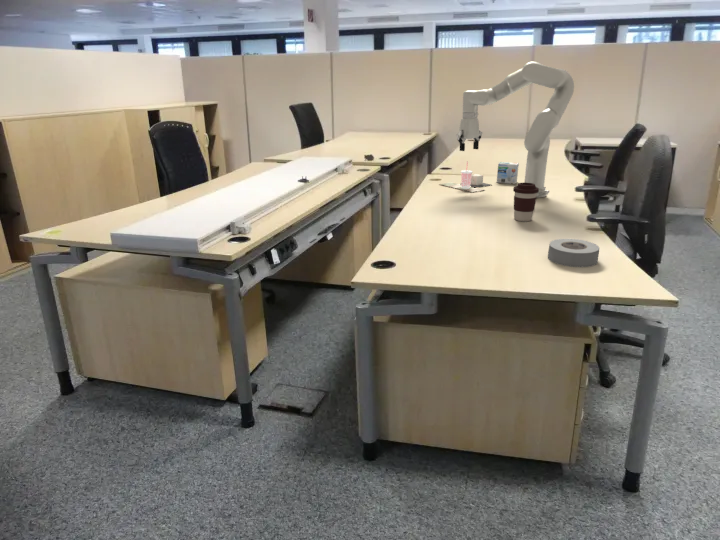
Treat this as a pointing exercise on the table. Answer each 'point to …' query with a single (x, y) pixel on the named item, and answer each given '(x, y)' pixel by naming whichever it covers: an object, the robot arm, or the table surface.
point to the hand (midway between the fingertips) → (469, 149)
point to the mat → (480, 185)
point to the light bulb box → (507, 172)
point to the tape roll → (573, 252)
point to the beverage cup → (466, 178)
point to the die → (477, 179)
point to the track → (458, 186)
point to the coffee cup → (524, 201)
